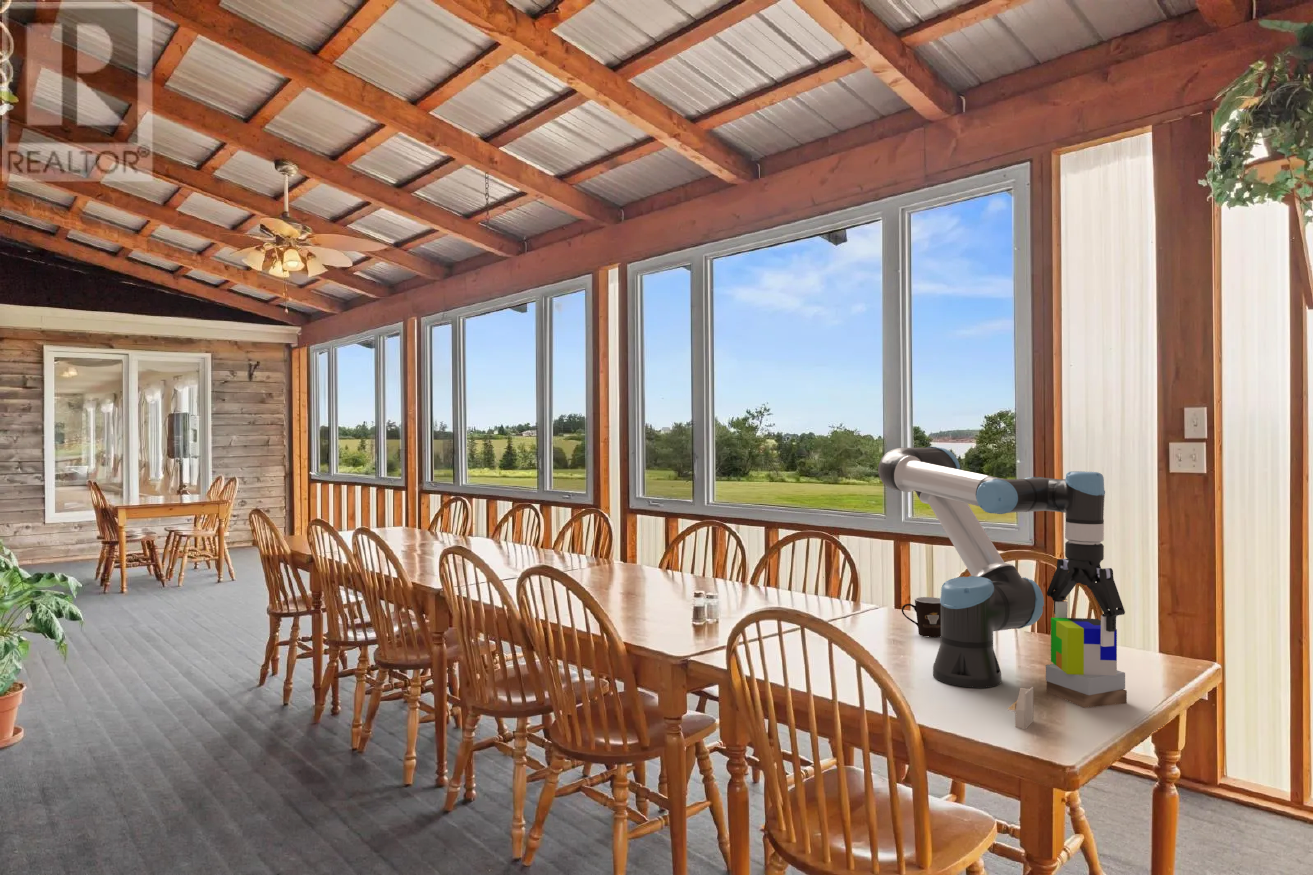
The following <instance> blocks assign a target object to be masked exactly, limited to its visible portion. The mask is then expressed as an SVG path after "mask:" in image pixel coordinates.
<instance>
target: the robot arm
mask: <svg viewBox="0 0 1313 875" xmlns="http://www.w3.org/2000/svg"><path fill="white" fill-rule="evenodd" d="M877 468H878V469H877V470H878V477H879V478H880V480H881V483H882V484H884V486H886V487H887V488H889V489H891V490H894V491H899V492H903V493H912V492H915V494H916V495H917V497H918V499H919V500H920V502H921V503H922V504H925V505H926V504H927V505H929V507H930V508H931V510H932V511H933V513H934V514H935V516H936V518H937V520H938V522H939V523H940V525H941V527H942V528H943V530H944V532H945V534H946V535H947V537H948V539H949V540H950V542H951V544H952V545H953V547H954V548H955V551H956V552H957V554H958V555H959V557H960V559H961V561H962V562H963V564H964V565H965V567H966V569H967V571H968V572H969V574H970V575H969V576H957V577H954V578H950V579H948V580H946V581H945V582H944V583H942V586H941V589H940V597H939V598H940V605H941V637H940V645H939V648H938V651H937V654H936V658H935V660H934V663H933V666H932V676H933V677H934V678H935V679H936V680H937V681H939V682H941V683H945V684H948V685H952V686H957V687H962V688H963V687H964V688H972V689H973V688H974V689H976V688H977V689H978V688H979V689H984V688H992V687H996V686H999V685H1000V684H1001V683H1002V670H1001V669H1000V665H999V662H998V658H997V655H996V653H995V650H994V632H999V631H1007V630H1008V631H1009V630H1013V629H1016V630H1019V629H1024V628H1026V627H1030V626H1032V625H1034V624H1036V623H1037V622H1038V621H1039V620H1040V618H1041V617H1042V614H1043V613H1044V608H1043V607H1044V606H1045V600H1044V599H1045V598H1044V594H1043V591H1042V590H1041V588H1040V587H1041V586H1039V585H1038V583H1036V581H1035V580H1032V579H1030V578H1028V577H1023V576H1021V574H1020V573H1019V571H1018V569H1017V568H1016V566H1014V565H1013V564H1010V563H1006V562H1005V561H1004V559H1003V558H1002V555H1001V554H1000V553H999V551H998V550H997V548H996V546H995V545H994V543H993V541H992V540H991V538H990V537H989V535H988V534H987V532H986V530H985V529H984V527H983V526H982V524H981V522H980V521H979V519H978V517H977V516H976V514H975V513H974V511H973V510H972V508H971V507H970V505H972V506H976V507H979V508H981V510H983V512H985V513H987V514H995V515H996V514H997V515H1004V514H1012V513H1013V514H1014V513H1027V512H1028V513H1029V512H1044V511H1045V512H1047V511H1048V512H1056V513H1057V512H1058V513H1065V514H1064V515H1065V526H1064V527H1065V528H1064V529H1065V530H1064V532H1065V534H1064V537H1065V540H1067V541H1066V542H1065V543H1064V544H1065V546H1064V551H1065V552H1064V557H1065V558H1058V559H1057V561H1056V569H1055V571H1054V574H1053V576H1052V578H1051V580H1050V583H1049V586H1048V589H1047V590H1046V595H1047V597H1050V598H1051V599H1052V601H1053V614H1054V618H1068V604H1069V603H1068V599H1067V598H1068V595H1069V594H1070V593H1071V592H1072V591H1073V589H1074V588H1075V587H1076V585H1077V584H1081V585H1083V586H1086V587H1087V588H1088V589H1090V590H1091V592H1092V595H1093V596H1094V598H1095V600H1096V602H1097V604H1098V606H1099V607H1100V610H1101V611H1102V613H1103V614H1101V615H1100V620H1101V646H1103V647H1107V646H1114V631H1116V629H1117V617H1118V616H1124V615H1125V614H1126V611H1125V610H1126V609H1125V607H1124V605H1123V602H1122V599H1121V597H1120V594H1119V590H1118V588H1117V585H1116V582H1115V580H1114V579H1115V578H1114V571H1113V569H1112V568H1110V567H1108V568H1106V567H1105V568H1103V567H1102V566H1101V562H1102V561H1103V560H1104V559H1105V558H1104V557H1105V556H1104V555H1105V554H1104V552H1105V551H1104V550H1105V548H1104V547H1105V546H1104V544H1103V543H1102V542H1103V541H1104V539H1105V536H1104V535H1105V532H1104V530H1105V523H1104V520H1105V519H1104V516H1105V515H1104V514H1105V513H1104V511H1105V495H1106V490H1105V477H1104V475H1103V474H1102V473H1101V472H1099V471H1098V472H1097V471H1081V470H1080V471H1077V470H1076V471H1075V470H1074V471H1068V472H1067V473H1066V475H1065V479H1062V478H1061V479H1060V478H1051V477H1043V476H1029V477H1025V478H1018V479H1017V478H1015V479H1014V478H1011V479H1008V478H1002V477H996V476H992V475H988V474H983V473H978V472H973V471H969V470H963V469H961V466H960V462H959V460H958V458H957V457H956V456H955V454H954V453H953V452H952V451H951V450H949V449H947V448H943V447H938V446H926V447H897V448H893V449H890V450H889V451H887V452H886V453H885V454H884V455H883V456H882V457H881V458H880V461H879V463H878V467H877Z"/></svg>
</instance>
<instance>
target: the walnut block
mask: <svg viewBox="0 0 1313 875" xmlns="http://www.w3.org/2000/svg"><path fill="white" fill-rule="evenodd" d="M1127 692H1128V691H1127V690H1126V689H1121V690H1116V691H1110V692H1105V693H1099V694H1094V695H1086V694H1083V693H1080V692H1078V691H1075V690H1072V689H1069V688H1066V687H1063V686H1060V685H1057V684H1054V683H1051V682H1048V681H1046V693H1049V694H1051V695H1053V696H1056V697H1058V698H1060V699H1062V700H1065V701H1067V702H1069V703H1071V704H1074V705H1077V706H1078V707H1082V708H1085V709H1086V708H1094V707H1095V708H1096V707H1105V706H1115V705H1123V704H1128V703H1127V702H1128V701H1127V696H1128V695H1127Z"/></svg>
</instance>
